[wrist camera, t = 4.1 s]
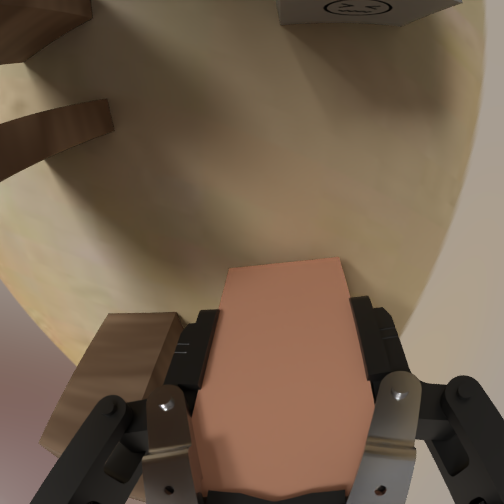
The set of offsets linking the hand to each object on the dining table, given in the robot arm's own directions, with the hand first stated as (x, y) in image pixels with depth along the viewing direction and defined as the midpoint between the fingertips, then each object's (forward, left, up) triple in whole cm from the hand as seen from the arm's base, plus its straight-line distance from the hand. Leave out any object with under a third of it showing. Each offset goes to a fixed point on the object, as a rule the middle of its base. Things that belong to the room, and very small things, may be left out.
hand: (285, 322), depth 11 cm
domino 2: (-9, -9, -4) cm, 13 cm away
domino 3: (+3, -9, -4) cm, 10 cm away
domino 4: (0, 0, -3) cm, 3 cm away
